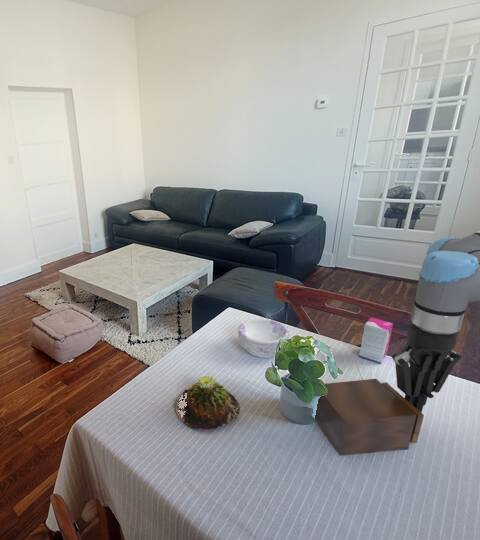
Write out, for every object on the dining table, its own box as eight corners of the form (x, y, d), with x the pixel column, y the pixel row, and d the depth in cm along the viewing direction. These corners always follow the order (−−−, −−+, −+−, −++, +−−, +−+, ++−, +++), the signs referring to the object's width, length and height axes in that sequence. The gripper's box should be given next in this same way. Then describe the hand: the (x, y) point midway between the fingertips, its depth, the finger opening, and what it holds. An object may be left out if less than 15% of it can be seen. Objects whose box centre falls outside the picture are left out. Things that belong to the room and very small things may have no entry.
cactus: (211, 380, 100) (211, 352, 97) (253, 413, 87) (254, 383, 83) (163, 403, 94) (161, 374, 90) (200, 443, 80) (199, 411, 77)
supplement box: (381, 364, 98) (388, 330, 94) (358, 357, 103) (363, 324, 99) (387, 355, 102) (393, 322, 98) (364, 348, 106) (369, 316, 102)
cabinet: (370, 410, 84) (376, 378, 80) (408, 449, 73) (416, 414, 70) (311, 415, 84) (314, 384, 81) (340, 455, 73) (345, 421, 70)
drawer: (386, 407, 83) (391, 381, 80) (422, 442, 73) (430, 414, 70) (326, 413, 83) (329, 387, 80) (354, 448, 73) (359, 421, 71)
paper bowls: (229, 343, 117) (229, 323, 114) (268, 333, 120) (268, 314, 117) (256, 369, 103) (257, 346, 100) (299, 357, 106) (301, 335, 103)
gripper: (449, 314, 72) (426, 401, 80) (387, 320, 73) (371, 406, 81) (484, 332, 65) (455, 425, 73) (416, 339, 66) (395, 431, 74)
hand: (411, 415), depth 77 cm, fingers closed
